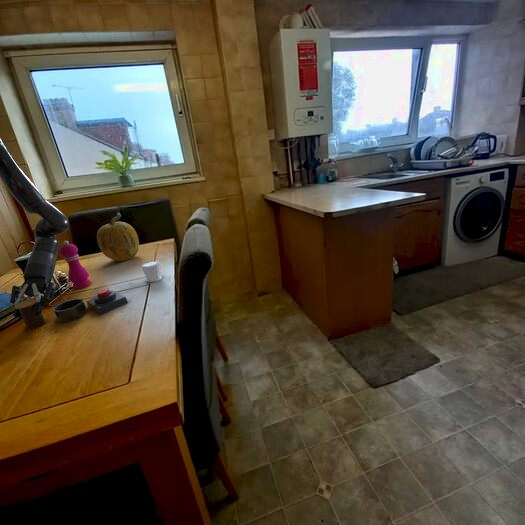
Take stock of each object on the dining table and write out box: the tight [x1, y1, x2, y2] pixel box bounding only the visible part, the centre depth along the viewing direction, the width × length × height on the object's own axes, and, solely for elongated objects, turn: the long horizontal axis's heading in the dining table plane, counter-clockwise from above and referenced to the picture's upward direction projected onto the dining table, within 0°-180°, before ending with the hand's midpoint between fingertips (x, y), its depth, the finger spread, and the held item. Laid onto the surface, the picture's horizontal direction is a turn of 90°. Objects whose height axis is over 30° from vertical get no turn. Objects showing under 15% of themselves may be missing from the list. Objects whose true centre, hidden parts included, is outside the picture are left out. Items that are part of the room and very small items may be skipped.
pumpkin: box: [96, 212, 140, 262], centre depth 145 cm, size 19×19×25 cm
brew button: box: [97, 288, 110, 298], centre depth 96 cm, size 4×4×2 cm
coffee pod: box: [14, 297, 46, 330], centre depth 88 cm, size 6×6×8 cm
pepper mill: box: [59, 240, 92, 290], centre depth 115 cm, size 7×7×20 cm
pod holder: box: [52, 298, 88, 323], centre depth 92 cm, size 8×8×4 cm
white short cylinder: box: [141, 260, 162, 283], centre depth 114 cm, size 7×7×7 cm
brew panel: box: [86, 289, 129, 315], centre depth 97 cm, size 9×11×4 cm
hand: (26, 315), depth 87 cm, fingers closed on coffee pod, 5 cm apart
